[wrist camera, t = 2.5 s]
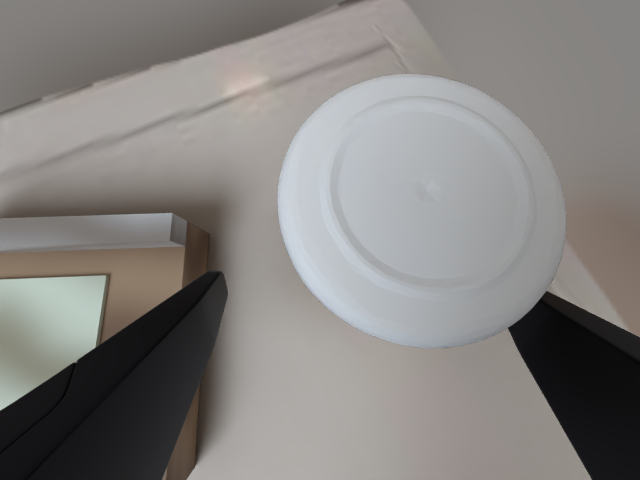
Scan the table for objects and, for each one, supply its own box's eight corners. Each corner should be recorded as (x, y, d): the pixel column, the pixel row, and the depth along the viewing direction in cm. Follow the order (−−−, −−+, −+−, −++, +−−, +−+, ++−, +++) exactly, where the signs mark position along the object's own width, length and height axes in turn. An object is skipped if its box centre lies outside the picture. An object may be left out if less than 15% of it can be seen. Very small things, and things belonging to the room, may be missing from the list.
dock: (194, 467, 14) (139, 547, 9) (-97, 487, 13) (-300, 582, 9) (209, 233, 17) (172, 212, 12) (-28, 242, 16) (-153, 223, 12)
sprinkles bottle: (300, 244, 17) (253, 76, 4) (362, 234, 17) (520, 43, 4) (311, 310, 16) (299, 392, 3) (377, 298, 16) (645, 318, 3)
